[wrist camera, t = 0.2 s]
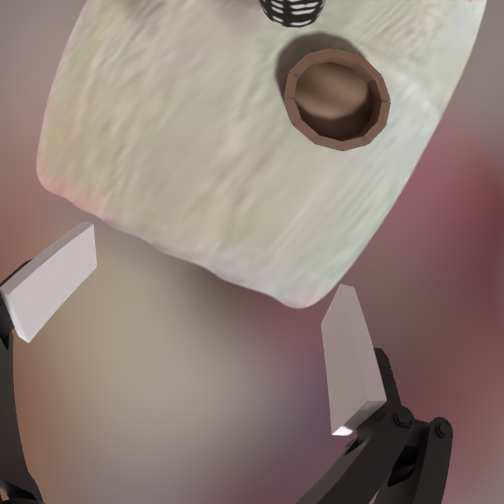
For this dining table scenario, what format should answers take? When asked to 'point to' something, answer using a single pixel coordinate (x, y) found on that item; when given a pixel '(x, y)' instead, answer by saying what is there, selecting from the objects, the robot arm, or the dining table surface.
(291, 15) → the white-spotted black cylinder
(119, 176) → the dining table surface
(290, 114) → the holder
